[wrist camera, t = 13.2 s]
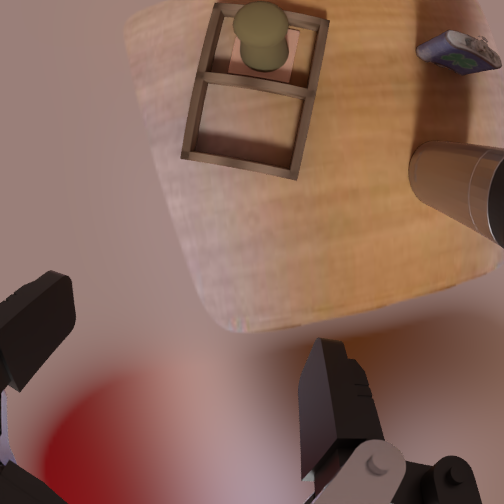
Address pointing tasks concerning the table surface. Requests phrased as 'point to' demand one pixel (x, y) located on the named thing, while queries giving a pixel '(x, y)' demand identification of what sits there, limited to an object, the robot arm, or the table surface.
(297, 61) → the table surface
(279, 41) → the cork
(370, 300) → the table surface
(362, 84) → the table surface
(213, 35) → the caddy
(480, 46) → the flask
